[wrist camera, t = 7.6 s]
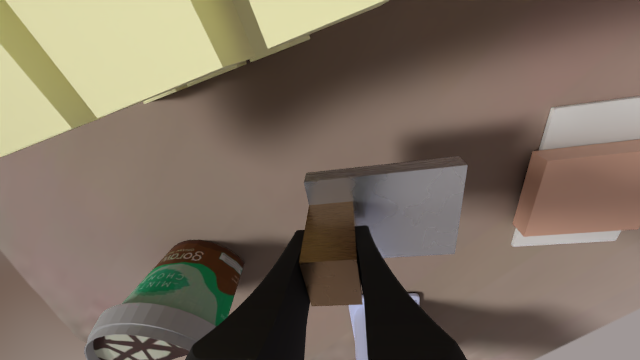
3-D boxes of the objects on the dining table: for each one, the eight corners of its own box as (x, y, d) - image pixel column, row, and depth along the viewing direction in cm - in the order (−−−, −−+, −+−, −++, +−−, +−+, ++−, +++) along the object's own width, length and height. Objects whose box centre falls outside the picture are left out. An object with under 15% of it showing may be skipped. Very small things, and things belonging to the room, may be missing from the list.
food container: (225, 218, 25) (165, 318, 16) (256, 260, 28) (217, 364, 19) (133, 246, 28) (41, 341, 19) (169, 281, 31) (102, 378, 22)
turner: (323, 249, 17) (317, 324, 13) (306, 172, 14) (290, 236, 10) (448, 241, 16) (488, 320, 12) (459, 155, 13) (517, 219, 9)
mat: (612, 238, 23) (615, 240, 22) (510, 244, 24) (512, 246, 24) (696, 88, 16) (702, 89, 16) (551, 107, 17) (554, 108, 17)
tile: (511, 222, 22) (617, 215, 21) (523, 236, 21) (637, 229, 20) (531, 150, 19) (658, 136, 18) (547, 160, 17) (688, 146, 16)
